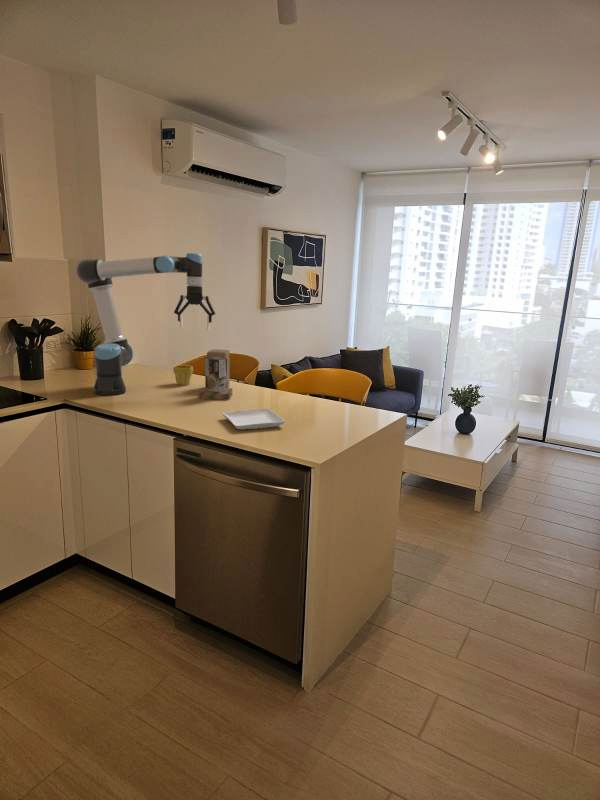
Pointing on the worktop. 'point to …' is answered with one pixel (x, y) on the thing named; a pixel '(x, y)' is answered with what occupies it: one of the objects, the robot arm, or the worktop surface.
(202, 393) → the walnut riser
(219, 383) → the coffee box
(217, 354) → the block
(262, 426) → the salad plate
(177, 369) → the plant pot
